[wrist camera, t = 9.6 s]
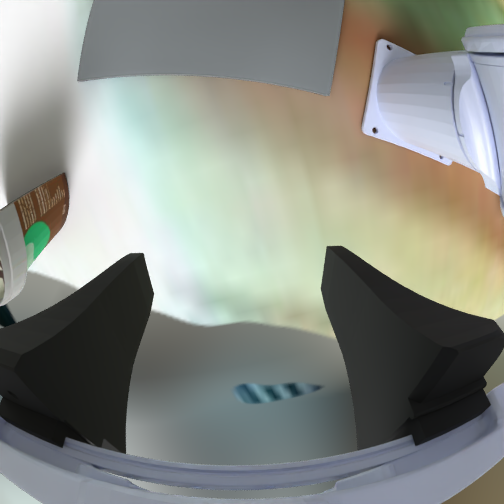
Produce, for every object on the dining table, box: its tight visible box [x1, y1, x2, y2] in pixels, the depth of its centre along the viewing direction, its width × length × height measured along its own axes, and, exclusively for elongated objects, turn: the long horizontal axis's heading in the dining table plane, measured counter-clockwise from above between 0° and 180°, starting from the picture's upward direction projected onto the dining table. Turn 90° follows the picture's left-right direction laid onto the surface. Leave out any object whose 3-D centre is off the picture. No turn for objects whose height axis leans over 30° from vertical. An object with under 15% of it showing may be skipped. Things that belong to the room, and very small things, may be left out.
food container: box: [0, 173, 69, 306], centre depth 15 cm, size 12×6×10 cm, turn 101°
